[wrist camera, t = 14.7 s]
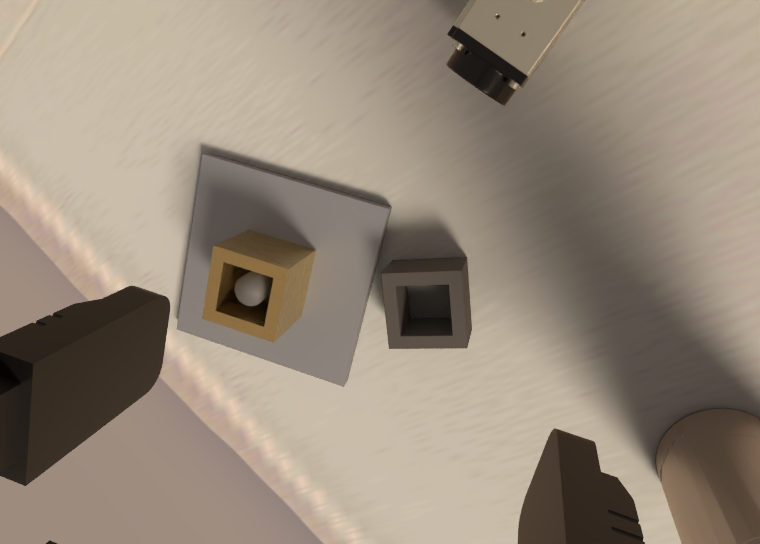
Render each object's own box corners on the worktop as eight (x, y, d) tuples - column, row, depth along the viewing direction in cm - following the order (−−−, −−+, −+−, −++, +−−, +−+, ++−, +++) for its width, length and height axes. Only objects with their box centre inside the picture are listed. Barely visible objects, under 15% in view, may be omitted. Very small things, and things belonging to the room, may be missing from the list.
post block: (391, 206, 48) (373, 221, 42) (347, 381, 53) (325, 414, 48) (208, 153, 50) (168, 159, 45) (182, 325, 55) (143, 350, 50)
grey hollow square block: (467, 257, 48) (461, 270, 44) (471, 329, 49) (467, 348, 45) (392, 260, 49) (381, 273, 45) (399, 330, 51) (389, 348, 47)
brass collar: (316, 249, 49) (288, 269, 44) (301, 316, 51) (274, 342, 46) (248, 229, 50) (213, 245, 45) (237, 295, 52) (201, 318, 47)
